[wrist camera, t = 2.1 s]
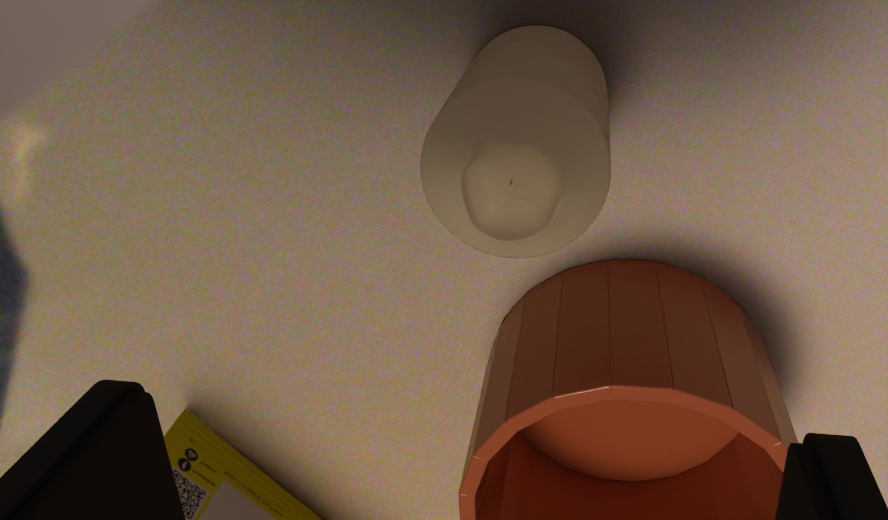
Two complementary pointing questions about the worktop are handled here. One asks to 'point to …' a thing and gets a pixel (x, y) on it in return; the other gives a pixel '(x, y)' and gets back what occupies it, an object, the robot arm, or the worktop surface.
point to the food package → (223, 479)
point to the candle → (521, 145)
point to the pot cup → (627, 404)
